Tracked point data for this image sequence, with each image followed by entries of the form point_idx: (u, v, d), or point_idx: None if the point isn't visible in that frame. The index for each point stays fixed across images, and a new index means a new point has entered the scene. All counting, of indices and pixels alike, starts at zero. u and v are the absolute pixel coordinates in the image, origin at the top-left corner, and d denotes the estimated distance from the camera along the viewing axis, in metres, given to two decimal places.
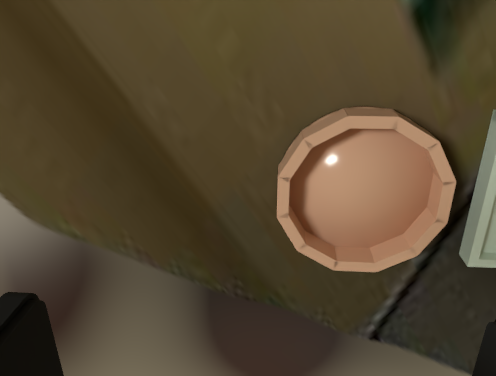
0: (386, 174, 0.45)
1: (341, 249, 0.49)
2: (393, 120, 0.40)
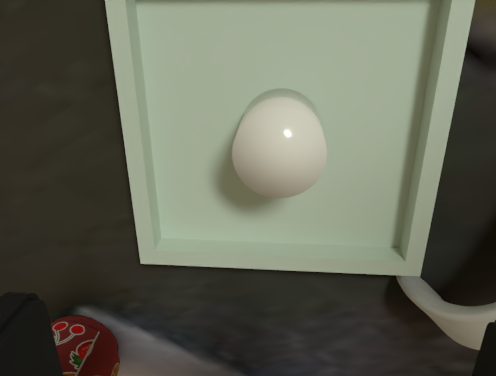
0: None
1: None
2: None
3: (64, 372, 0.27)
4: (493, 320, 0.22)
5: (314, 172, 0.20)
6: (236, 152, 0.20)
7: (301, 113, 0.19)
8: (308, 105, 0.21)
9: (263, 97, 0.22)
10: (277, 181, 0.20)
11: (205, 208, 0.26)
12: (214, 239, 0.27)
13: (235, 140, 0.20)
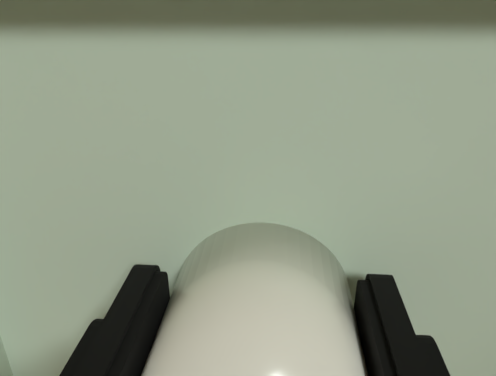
0: None
1: None
2: None
3: None
4: None
5: None
6: None
7: None
8: (327, 286, 0.09)
9: (217, 260, 0.09)
10: None
11: None
12: None
13: None
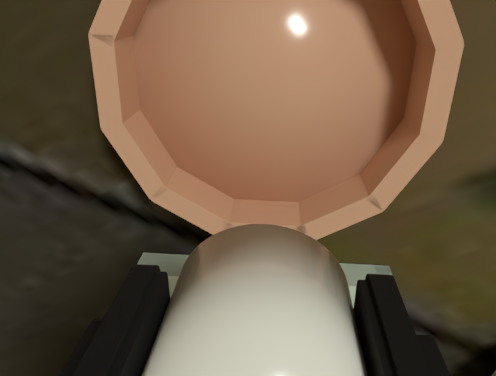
0: (297, 127, 0.24)
1: (131, 51, 0.23)
2: (437, 132, 0.21)
3: None
4: None
5: None
6: None
7: None
8: (327, 288, 0.09)
9: (217, 261, 0.09)
10: None
11: None
12: None
13: None
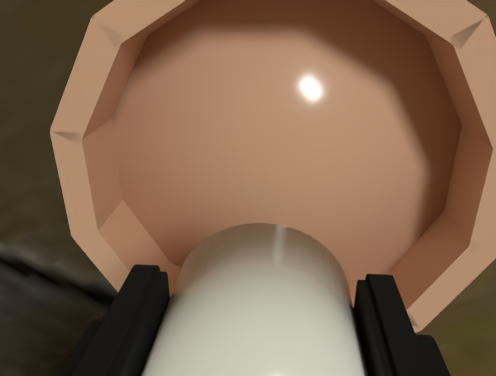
0: (313, 219, 0.20)
1: (108, 139, 0.19)
2: (492, 244, 0.17)
3: None
4: None
5: None
6: None
7: None
8: (327, 287, 0.09)
9: (216, 260, 0.09)
10: None
11: None
12: None
13: None
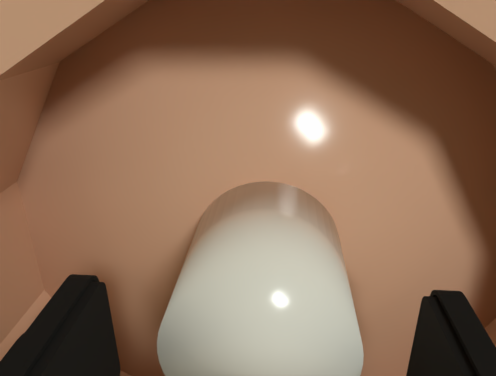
0: None
1: (11, 212, 0.13)
2: None
3: None
4: None
5: None
6: (166, 349, 0.09)
7: (307, 279, 0.08)
8: (319, 227, 0.11)
9: (230, 207, 0.11)
10: None
11: None
12: None
13: (162, 328, 0.09)
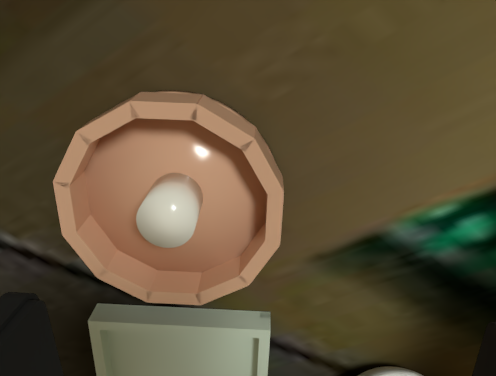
0: (196, 226, 0.37)
1: (83, 182, 0.35)
2: (275, 239, 0.33)
3: None
4: None
5: (188, 233, 0.32)
6: (138, 219, 0.32)
7: (177, 198, 0.31)
8: (189, 187, 0.33)
9: (161, 180, 0.34)
10: (165, 237, 0.32)
11: None
12: None
13: (137, 212, 0.31)
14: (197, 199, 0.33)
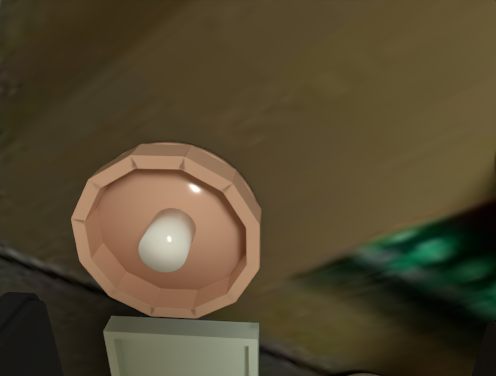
0: (191, 251, 0.43)
1: (96, 217, 0.42)
2: (255, 264, 0.40)
3: None
4: None
5: (181, 260, 0.39)
6: (140, 250, 0.38)
7: (171, 232, 0.38)
8: (182, 221, 0.40)
9: (159, 216, 0.40)
10: (163, 264, 0.39)
11: None
12: None
13: (139, 244, 0.38)
14: (189, 231, 0.40)
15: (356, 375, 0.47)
